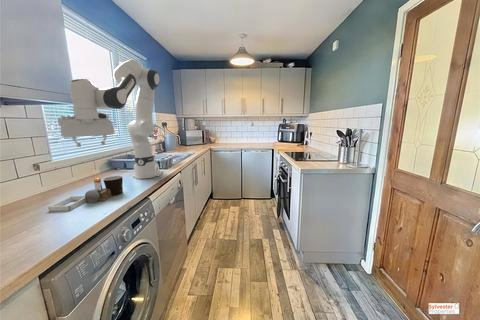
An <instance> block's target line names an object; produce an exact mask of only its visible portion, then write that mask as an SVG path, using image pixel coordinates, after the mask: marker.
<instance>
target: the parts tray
mask: <svg viewBox="0 0 480 320" xmlns="http://www.w3.org/2000/svg"><path fill="white" fill-rule="evenodd" d="M72 201H75V202H73V203H70V202H72ZM68 203H70V204H69V205H66V204H68ZM85 203H87V201H86V199H85V195H70V196H69V197H66V198H64V199H62V200H59V201H57V202H55V203H54V204H50V205H49V206H47V209H48V212H63V211H71V210H74V209H75V208H77V207H79V206H81V205H83V204H85Z"/></svg>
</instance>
